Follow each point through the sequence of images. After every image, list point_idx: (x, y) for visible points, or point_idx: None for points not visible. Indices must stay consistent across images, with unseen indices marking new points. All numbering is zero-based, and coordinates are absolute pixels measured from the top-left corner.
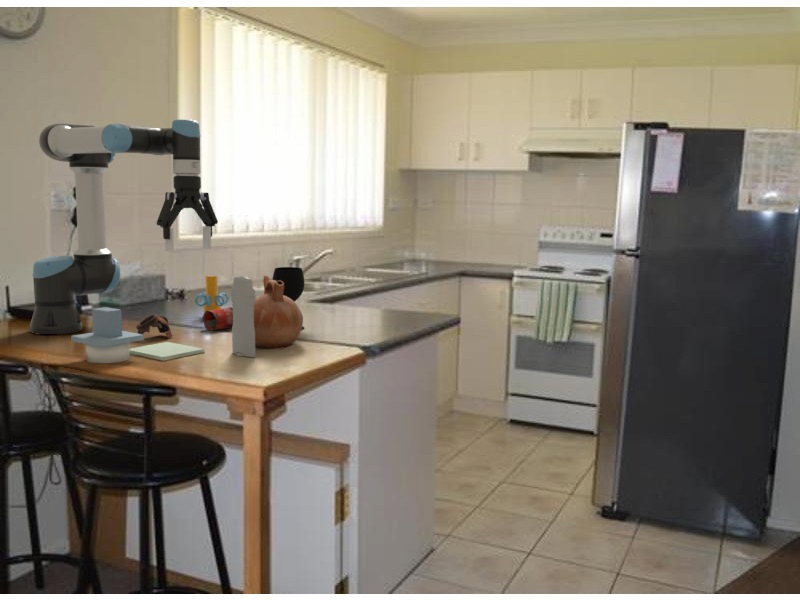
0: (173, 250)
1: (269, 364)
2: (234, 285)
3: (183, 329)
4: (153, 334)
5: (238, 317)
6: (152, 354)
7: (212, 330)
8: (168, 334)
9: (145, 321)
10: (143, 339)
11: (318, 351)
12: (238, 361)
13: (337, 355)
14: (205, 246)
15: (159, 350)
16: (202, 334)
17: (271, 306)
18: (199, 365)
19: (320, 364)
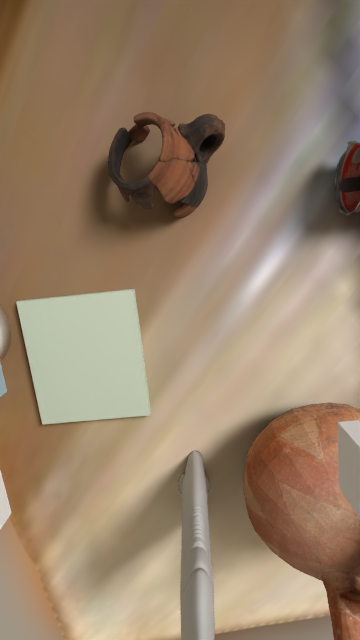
0: (5, 516)
1: (176, 566)
2: (187, 627)
3: (297, 109)
4: (188, 122)
5: (181, 552)
6: (37, 389)
7: (339, 194)
8: (181, 215)
9: (150, 123)
10: (5, 391)
11: None
12: (150, 516)
13: (315, 594)
14: (346, 458)
15: (68, 364)
16: (282, 224)
17: (301, 569)
18: (78, 495)
19: (238, 619)
